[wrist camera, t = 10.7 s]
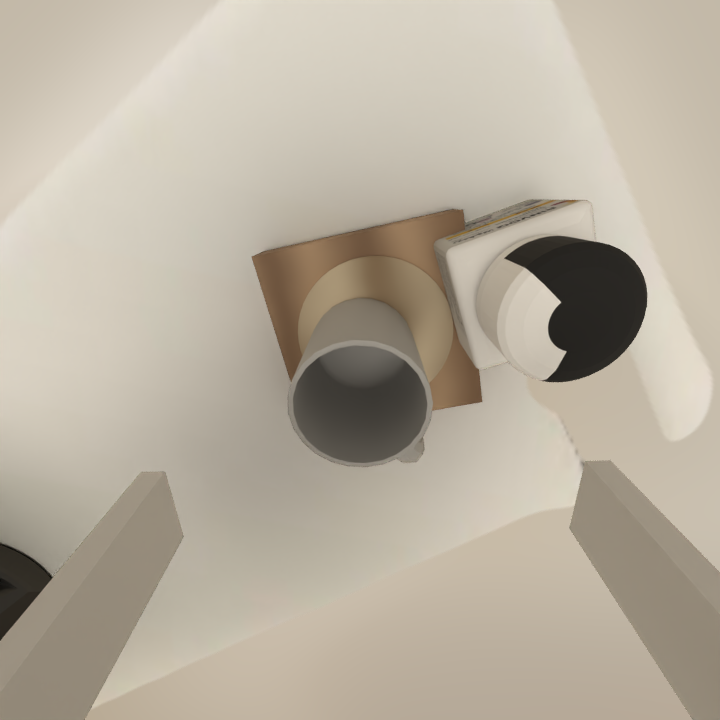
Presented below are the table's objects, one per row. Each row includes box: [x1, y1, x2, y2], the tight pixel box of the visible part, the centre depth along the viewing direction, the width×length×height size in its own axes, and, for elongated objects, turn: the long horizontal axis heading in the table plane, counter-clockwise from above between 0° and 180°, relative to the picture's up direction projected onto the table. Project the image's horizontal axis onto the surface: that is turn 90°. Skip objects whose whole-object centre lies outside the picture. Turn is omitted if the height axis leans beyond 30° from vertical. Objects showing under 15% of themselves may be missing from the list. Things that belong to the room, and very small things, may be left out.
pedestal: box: [252, 209, 482, 410], centre depth 28 cm, size 14×14×3 cm
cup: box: [288, 298, 433, 467], centre depth 23 cm, size 7×10×9 cm
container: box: [434, 200, 647, 382], centre depth 22 cm, size 8×8×13 cm
